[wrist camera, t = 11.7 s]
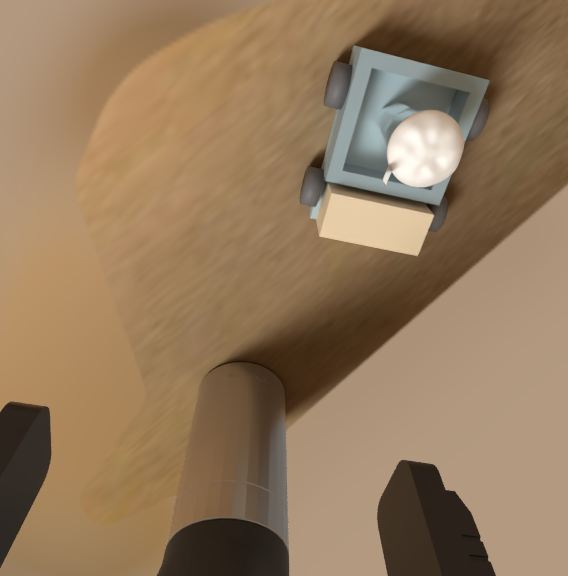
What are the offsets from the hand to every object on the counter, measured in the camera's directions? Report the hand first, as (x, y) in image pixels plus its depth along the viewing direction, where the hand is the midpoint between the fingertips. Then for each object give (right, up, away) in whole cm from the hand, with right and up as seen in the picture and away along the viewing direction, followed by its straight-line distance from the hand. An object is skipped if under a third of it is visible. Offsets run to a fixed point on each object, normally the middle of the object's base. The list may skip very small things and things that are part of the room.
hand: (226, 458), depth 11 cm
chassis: (+9, +15, +26) cm, 32 cm away
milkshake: (+9, +16, +24) cm, 31 cm away
